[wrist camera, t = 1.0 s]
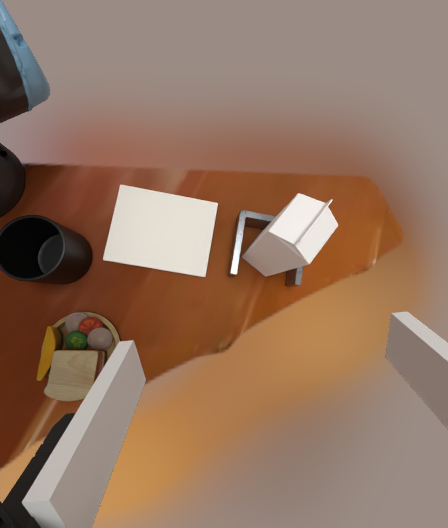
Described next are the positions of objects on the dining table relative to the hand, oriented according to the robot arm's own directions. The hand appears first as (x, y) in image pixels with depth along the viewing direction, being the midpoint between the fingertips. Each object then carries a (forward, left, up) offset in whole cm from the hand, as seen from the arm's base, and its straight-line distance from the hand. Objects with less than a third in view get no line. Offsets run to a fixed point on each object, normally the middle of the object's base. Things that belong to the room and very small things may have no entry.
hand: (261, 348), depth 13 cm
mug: (-29, +5, -32) cm, 44 cm away
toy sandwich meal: (-21, -10, -33) cm, 40 cm away
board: (-12, +13, -32) cm, 37 cm away
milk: (+7, +12, -32) cm, 35 cm away
